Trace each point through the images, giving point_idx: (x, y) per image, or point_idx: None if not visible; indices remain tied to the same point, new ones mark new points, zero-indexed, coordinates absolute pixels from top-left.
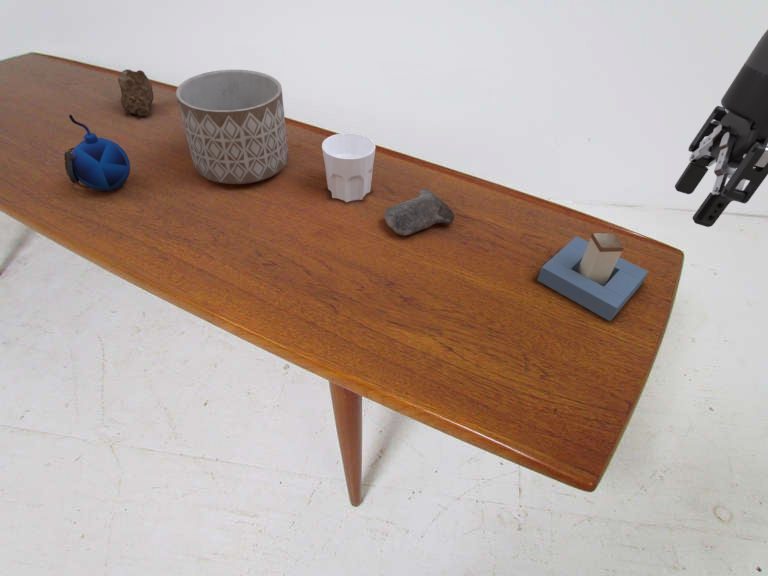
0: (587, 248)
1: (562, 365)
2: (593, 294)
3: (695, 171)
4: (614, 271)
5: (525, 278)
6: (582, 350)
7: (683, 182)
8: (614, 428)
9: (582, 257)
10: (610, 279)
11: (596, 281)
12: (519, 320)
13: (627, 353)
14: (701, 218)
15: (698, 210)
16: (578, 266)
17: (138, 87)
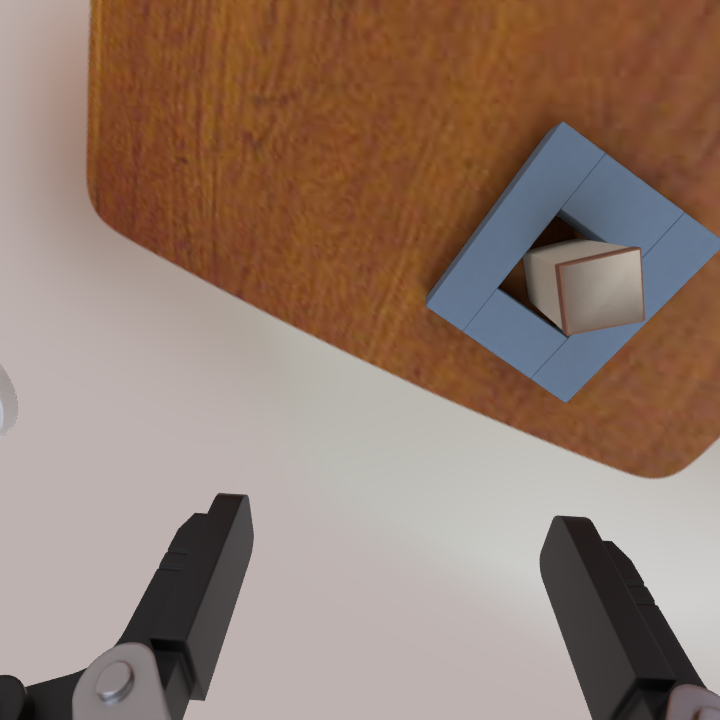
0: (610, 245)
1: (286, 182)
2: (464, 258)
3: (599, 661)
4: None
5: (554, 96)
6: (334, 228)
7: (571, 564)
8: (182, 263)
9: None
10: None
11: (531, 279)
12: (393, 81)
13: (346, 316)
14: (192, 523)
15: (219, 531)
16: None
17: None
